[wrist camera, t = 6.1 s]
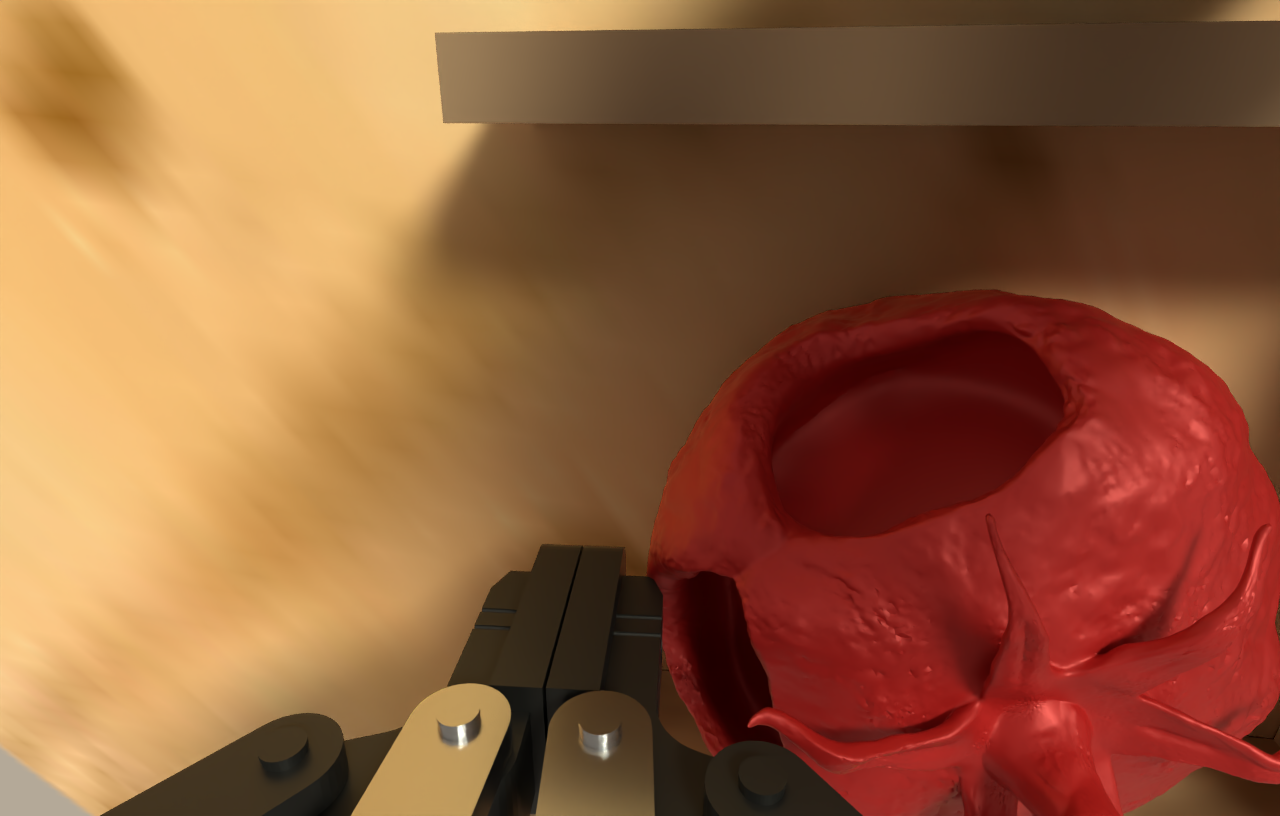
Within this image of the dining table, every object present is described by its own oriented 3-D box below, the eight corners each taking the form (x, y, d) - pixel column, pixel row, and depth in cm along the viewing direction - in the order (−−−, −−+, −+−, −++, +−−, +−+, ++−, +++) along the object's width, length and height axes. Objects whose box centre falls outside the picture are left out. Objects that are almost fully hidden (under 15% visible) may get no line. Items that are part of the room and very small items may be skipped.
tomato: (1176, 399, 16) (1927, 732, 7) (898, 723, 18) (1182, 1257, 10) (806, 154, 13) (1229, 185, 5) (551, 568, 16) (507, 1083, 7)
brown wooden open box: (1721, 43, 11) (2597, -19, 6) (1276, 904, 19) (1478, 1215, 14) (526, 54, 14) (380, 19, 9) (565, 803, 22) (502, 1029, 17)
